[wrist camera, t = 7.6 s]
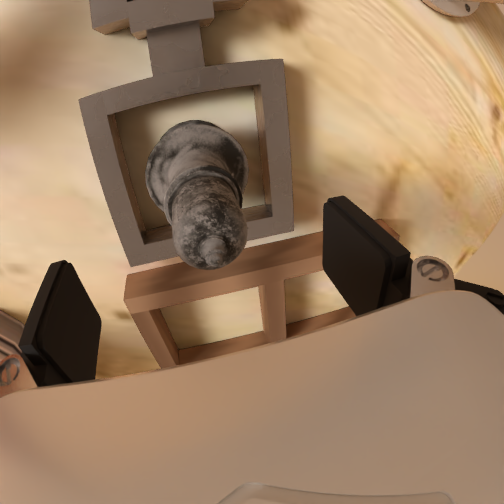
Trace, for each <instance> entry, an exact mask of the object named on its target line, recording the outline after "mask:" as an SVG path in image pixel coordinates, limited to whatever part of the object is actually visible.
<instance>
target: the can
mask: <svg viewBox="0 0 504 504" xmlns="http://www.w3.org/2000/svg"><path fill="white" fill-rule="evenodd" d="M24 327H25V325H24V324H23V323H22V322H20V321H19V320H17V319H15V318H13V317H12V316H10V315H8V314H6V313H5V312H3V311H1V310H0V362H1V361H2V360H3V359H4V358H5V357H7V356H9V355H11V354H17V355H20V356H21V353H22V351H21V350H20V348H19V347H18V344H19V341H20V338H21V335H22V333H23V330H24Z"/></svg>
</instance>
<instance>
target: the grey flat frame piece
mask: <svg viewBox="0 0 504 504" xmlns="http://www.w3.org/2000/svg"><path fill="white" fill-rule="evenodd" d="M247 1H249V0H134V1H133V0H90V9H91V19H92V27H93V29H94V30H96V31H98V32H100V33H102V34H104V35H106V34H109V33H112V32H116V31H119V30H123V29H126V28H130V31H131V34H132V35H133V36H134V37H135V38H137V39H142V38H146V37H147V40H148V47H149V53H150V60H151V66H152V72H153V77H151V78H147V79H143V80H139V81H136V82H132V83H128V84H125V85H121V86H118V87H115V88H111V89H108V90H105V91H102V92H99V93H96V94H93V95H90V96H87V97H84V98H81V99H79V104H80V109H81V113H82V117H83V122H84V126H85V130H86V134H87V138H88V141H89V145H90V149H91V152H92V156H93V160H94V163H95V166H96V170H97V173H98V177H99V180H100V183H101V186H102V189H103V192H104V195H105V199H106V202H107V204H108V207H109V210H110V213H111V216H112V219H113V222H114V225H115V227H116V230H117V233H118V235H119V238H120V241H121V243H122V246H123V249H124V251H125V254H126V256H127V259H128V261H129V264H130V266H131V267H133V266H137V265H142V264H146V263H151V262H155V261H159V260H164V259H168V258H173V257H177V256H179V255H178V254H177V252H176V249H175V247H174V244H173V237H172V226H171V225H167V226H163V227H158V228H154V229H150V230H146V229H145V226H144V223H143V220H142V216H141V213H140V210H139V207H138V203H137V200H136V196H135V193H134V190H133V186H132V183H131V179H130V175H129V172H128V168H127V164H126V160H125V157H124V153H123V149H122V145H121V141H120V136H119V132H118V128H117V124H116V119H115V115H114V113H116V112H120V111H123V110H127V109H130V108H134V107H137V106H141V105H145V104H149V103H153V102H157V101H162V100H166V99H170V98H175V97H180V96H185V95H190V94H195V93H201V92H206V91H212V90H219V89H225V88H233V87H240V86H248V85H253V90H254V99H255V108H256V117H257V127H258V137H259V146H260V156H261V167H262V177H263V187H264V198H265V205H260V206H255V207H250V208H245V209H241V211H242V213H243V215H244V217H245V219H246V223H247V228H248V234H247V241H249V240H254V239H258V238H263V237H267V236H272V235H277V234H281V233H286V232H291V231H294V215H293V191H292V171H291V153H290V137H289V123H288V109H287V97H286V85H285V74H284V63H283V59H270V60H256V61H246V62H236V63H228V64H220V65H213V66H207V67H205V63H204V56H203V48H202V41H201V33H200V27H204V26H209V25H210V24H211V22H212V21H213V19H214V18H215V17H214V11H223V10H234V9H240V8H241V7H242V6H243V5H244V4H245V3H246V2H247Z"/></svg>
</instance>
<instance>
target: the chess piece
mask: <svg viewBox="0 0 504 504" xmlns="http://www.w3.org/2000/svg"><path fill="white" fill-rule="evenodd" d="M248 173H249V167H248V162H247V157H246V154H245V153H244V151H243V149H242V147H241V145H240V144H239V143H238V142H237V141H236V140H235V138H234V137H233V136H232V135H230V134H229V133H227V132H225V131H224V130H222V129H220V128H218V127H217V126H215V125H213V124H212V123H209V122H205V121H201V120H189V121H186V122H182V123H179V124H177V125H175V126H174V127H172V128H170V129H169V130H168V131H167V132H166V133H165V134H164V135H163V136H162V138H161V139H160V141H159V143H158V144H157V145H156V146H155V147H154V149H153V151H152V152H151V154H150V156H149V158H148V162H147V166H146V170H145V177H146V186H147V189H148V192H149V195H150V197H151V198H152V200H153V201H154V203H155V204H156V205H157V207H158V208H160V209H161V210H162V211H163V212H165V215H166V218H167V221H168V222H169V223H170V225H171V226H172V237H173V244H174V247H175V249H176V252H177V254H178V255H179V256H180V258H181V259H182V260H183V261H184V262H185V263H187V264H188V265H190V266H192V267H195V268H197V269H203V270H215V269H219V268H222V267H224V266H226V265H228V264H230V263H231V262H233V261H234V260H235V259H236V258H237V257H238V256H239V255H240V254H241V252H242V251H243V249H244V247H245V245H246V242H247V234H248V228H247V223H246V219H245V217H244V215H243V213H242V211H241V208H242V200H243V197H242V194H243V193H244V190H245V187H246V185H247V182H248Z"/></svg>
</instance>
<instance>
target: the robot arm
mask: <svg viewBox="0 0 504 504" xmlns="http://www.w3.org/2000/svg"><path fill="white" fill-rule="evenodd" d="M422 1H423V2H424V3H425V4H427V5H428V6H430V7H431V8H433V9H434V10H436V11H438V12H440V13H442V14H444V15H448V16H455V17H465V16H469V15H471V14H473V13H474V12H475V11H476V10H477V9H478V7H479V4H480V2H489V3H501V4H504V0H422ZM410 254H411V253H410V252H409V251H408V250H407V249H406V248H405V247H404V246H403V245H402V244H401V243H399V242H398V241H397V240H396V239H395V238H394V237H393V236H392V235H390V234H389V233H388V232H387V231H386V230H385V229H384V228H382V227H381V226H380V225H379V224H378V223H377V222H375V221H374V220H373V219H372V218H371V217H369V216H368V215H367V214H366V213H365V212H363V211H362V210H361V209H360V208H359V207H357V206H356V205H355V204H354V203H353V202H351V201H350V200H349V199H348V198H346V197H345V196H338V197H333V198H329V199H328V201H327V203H324V207H323V253H322V265H323V269H324V271H325V273H326V274H327V276H328V277H329V278H330V280H331V281H332V282H333V284H334V285H335V287H336V288H337V289H338V291H339V292H340V294H341V295H342V296H343V298H344V299H345V301H346V302H347V304H348V305H349V306H350V308H351V309H352V311H353V312H354V314H355V315H356V317H353V318H350V319H347V320H344V321H341V322H338V323H335V324H332V325H329V326H326V327H323V328H319V329H316V330H313V331H310V332H306V333H303V334H300V335H296V336H293V337H290V338H286V339H283V340H279V341H276V342H272V343H268V344H265V345H261V346H257V347H254V348H250V349H246V350H242V351H238V352H234V353H230V354H226V355H222V356H218V357H213V358H209V359H205V360H200V361H196V362H191V363H186V364H182V365H177V366H172V367H167V368H162V369H156V370H151V371H146V372H140V373H134V374H129V375H122V376H116V377H110V378H103V379H96V380H95V374H96V364H97V355H98V347H99V339H100V332H101V318H100V316H99V314H98V312H97V310H96V309H95V307H94V305H93V303H92V301H91V300H90V298H89V296H88V294H87V292H86V290H85V289H84V287H83V285H82V283H81V281H80V279H79V277H78V275H77V273H76V271H75V269H74V267H73V265H72V264H71V263H68V262H67V261H66V260H62V261H59V262H55V263H52V264H51V265H50V266H49V269H48V271H47V273H46V275H45V277H44V280H43V282H42V284H41V286H40V289H39V291H38V293H37V296H36V298H35V301H34V303H33V306H32V308H31V311H30V313H29V316H28V319H27V321H26V324H25V327H24V330H23V333H22V335H21V338H20V341H19V344H18V347H19V348H20V350H21V351H22V353H21V356H20V355H17V354H11V355H9V356H7V357H5V358H4V359H3V360H2V361H1V362H0V504H504V295H503V294H502V293H501V292H499V291H498V290H494V289H492V288H488V287H484V286H480V285H476V284H473V283H469V282H464V281H461V280H457V279H454V275H453V271H452V269H451V267H450V266H449V265H448V264H447V263H446V262H445V261H443V260H441V259H439V258H436V257H433V256H422V257H419V258H416V259H415V260H414V261H413V260H412V259H411V258H410Z"/></svg>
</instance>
